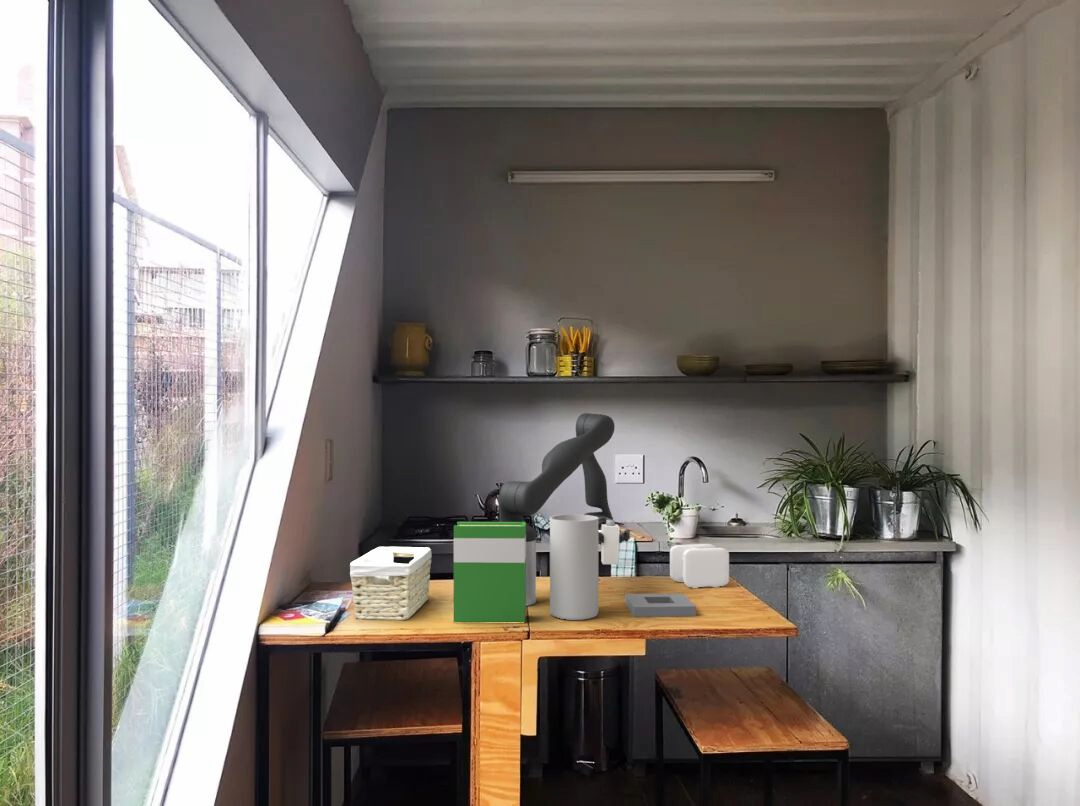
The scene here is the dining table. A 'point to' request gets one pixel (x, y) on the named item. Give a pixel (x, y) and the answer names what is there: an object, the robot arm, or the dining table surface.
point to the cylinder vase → (574, 566)
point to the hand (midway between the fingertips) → (611, 539)
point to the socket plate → (659, 605)
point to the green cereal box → (490, 572)
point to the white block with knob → (610, 543)
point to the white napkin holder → (699, 565)
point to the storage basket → (390, 583)
